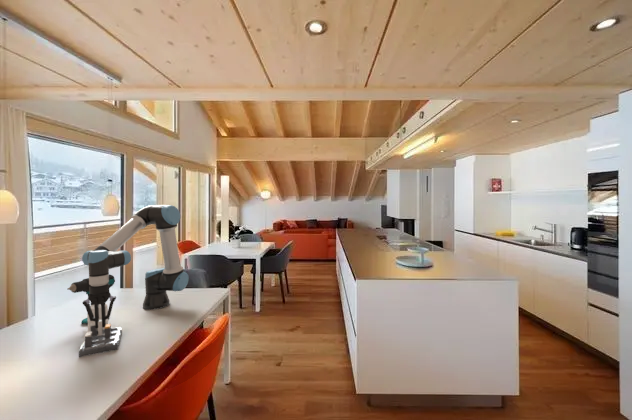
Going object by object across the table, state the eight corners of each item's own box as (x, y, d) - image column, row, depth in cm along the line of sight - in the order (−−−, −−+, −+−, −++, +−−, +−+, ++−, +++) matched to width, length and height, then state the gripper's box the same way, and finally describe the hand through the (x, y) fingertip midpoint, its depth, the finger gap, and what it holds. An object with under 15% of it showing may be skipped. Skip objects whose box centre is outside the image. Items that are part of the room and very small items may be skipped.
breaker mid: (111, 334, 146) (110, 323, 146) (110, 338, 143) (109, 326, 143) (106, 335, 145) (105, 324, 145) (104, 339, 142) (104, 327, 142)
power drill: (76, 333, 155) (74, 284, 155) (61, 331, 157) (60, 283, 156) (119, 314, 181) (117, 272, 180) (106, 313, 183) (104, 271, 182)
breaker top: (92, 343, 138) (92, 331, 137) (90, 347, 134) (90, 334, 134) (87, 344, 137) (86, 332, 137) (85, 348, 133) (84, 335, 133)
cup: (112, 331, 157) (111, 303, 156) (96, 338, 149) (95, 309, 149) (100, 329, 160) (99, 302, 159) (83, 336, 152) (82, 307, 151)
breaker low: (97, 332, 149) (97, 321, 149) (96, 335, 146) (95, 324, 145) (92, 333, 148) (92, 322, 148) (90, 336, 145) (90, 325, 144)
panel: (122, 332, 155) (121, 326, 155) (117, 349, 137) (117, 342, 137) (88, 338, 149) (87, 331, 149) (78, 357, 131) (78, 349, 131)
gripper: (116, 280, 148) (118, 328, 149) (83, 284, 142) (85, 334, 143) (114, 284, 142) (116, 334, 142) (80, 288, 136) (81, 340, 136)
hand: (100, 334), depth 143 cm, fingers closed
